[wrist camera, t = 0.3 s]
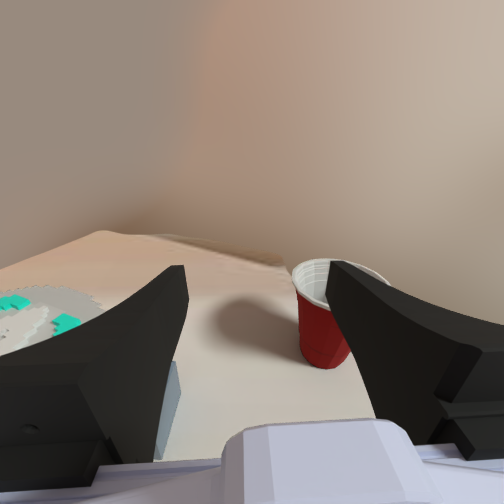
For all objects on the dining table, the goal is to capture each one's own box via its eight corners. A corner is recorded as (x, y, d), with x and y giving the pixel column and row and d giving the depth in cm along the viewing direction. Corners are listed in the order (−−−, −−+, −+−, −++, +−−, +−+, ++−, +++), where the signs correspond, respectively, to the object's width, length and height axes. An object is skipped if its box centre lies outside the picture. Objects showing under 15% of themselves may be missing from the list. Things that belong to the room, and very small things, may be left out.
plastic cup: (328, 312, 39) (346, 247, 33) (381, 371, 30) (419, 298, 24) (267, 329, 35) (275, 260, 29) (308, 401, 27) (331, 324, 21)
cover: (161, 459, 22) (152, 429, 19) (95, 455, 22) (76, 424, 19) (181, 392, 27) (175, 361, 24) (127, 389, 27) (115, 357, 24)
